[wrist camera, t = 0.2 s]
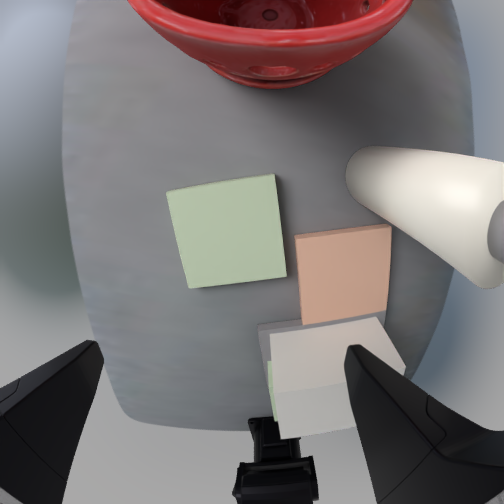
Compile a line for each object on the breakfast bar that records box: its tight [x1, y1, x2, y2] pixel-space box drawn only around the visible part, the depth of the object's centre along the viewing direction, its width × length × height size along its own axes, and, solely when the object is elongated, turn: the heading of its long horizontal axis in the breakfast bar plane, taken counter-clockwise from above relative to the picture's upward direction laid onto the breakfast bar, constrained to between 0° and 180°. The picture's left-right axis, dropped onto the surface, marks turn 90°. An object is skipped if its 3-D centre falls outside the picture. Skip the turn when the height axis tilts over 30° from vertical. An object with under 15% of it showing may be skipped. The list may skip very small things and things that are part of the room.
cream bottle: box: [345, 146, 504, 289], centre depth 13 cm, size 5×5×16 cm
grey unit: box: [258, 310, 406, 439], centre depth 22 cm, size 8×12×8 cm, turn 98°
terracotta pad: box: [294, 224, 391, 325], centre depth 23 cm, size 8×8×1 cm
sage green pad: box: [166, 173, 287, 288], centre depth 21 cm, size 8×8×1 cm
